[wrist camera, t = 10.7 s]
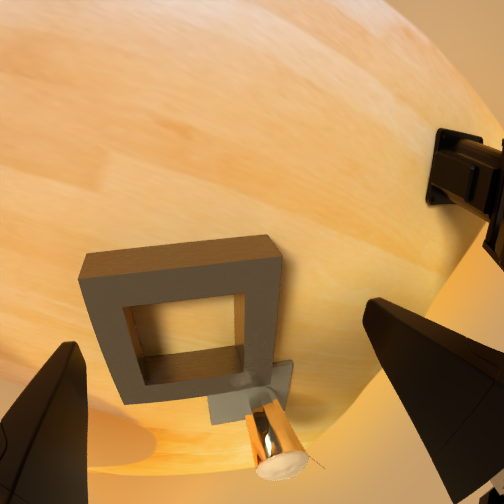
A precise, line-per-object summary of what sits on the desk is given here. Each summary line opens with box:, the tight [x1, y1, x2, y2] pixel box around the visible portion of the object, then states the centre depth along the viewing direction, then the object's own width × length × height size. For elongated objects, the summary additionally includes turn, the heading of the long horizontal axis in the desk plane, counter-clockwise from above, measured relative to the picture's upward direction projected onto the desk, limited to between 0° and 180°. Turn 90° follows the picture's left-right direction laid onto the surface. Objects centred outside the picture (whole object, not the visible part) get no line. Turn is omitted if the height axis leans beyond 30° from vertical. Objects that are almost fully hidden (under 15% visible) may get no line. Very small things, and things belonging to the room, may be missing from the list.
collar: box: [78, 235, 282, 405], centre depth 22 cm, size 12×12×3 cm
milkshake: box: [241, 386, 324, 481], centre depth 25 cm, size 4×5×10 cm
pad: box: [207, 360, 293, 425], centre depth 30 cm, size 8×8×1 cm
